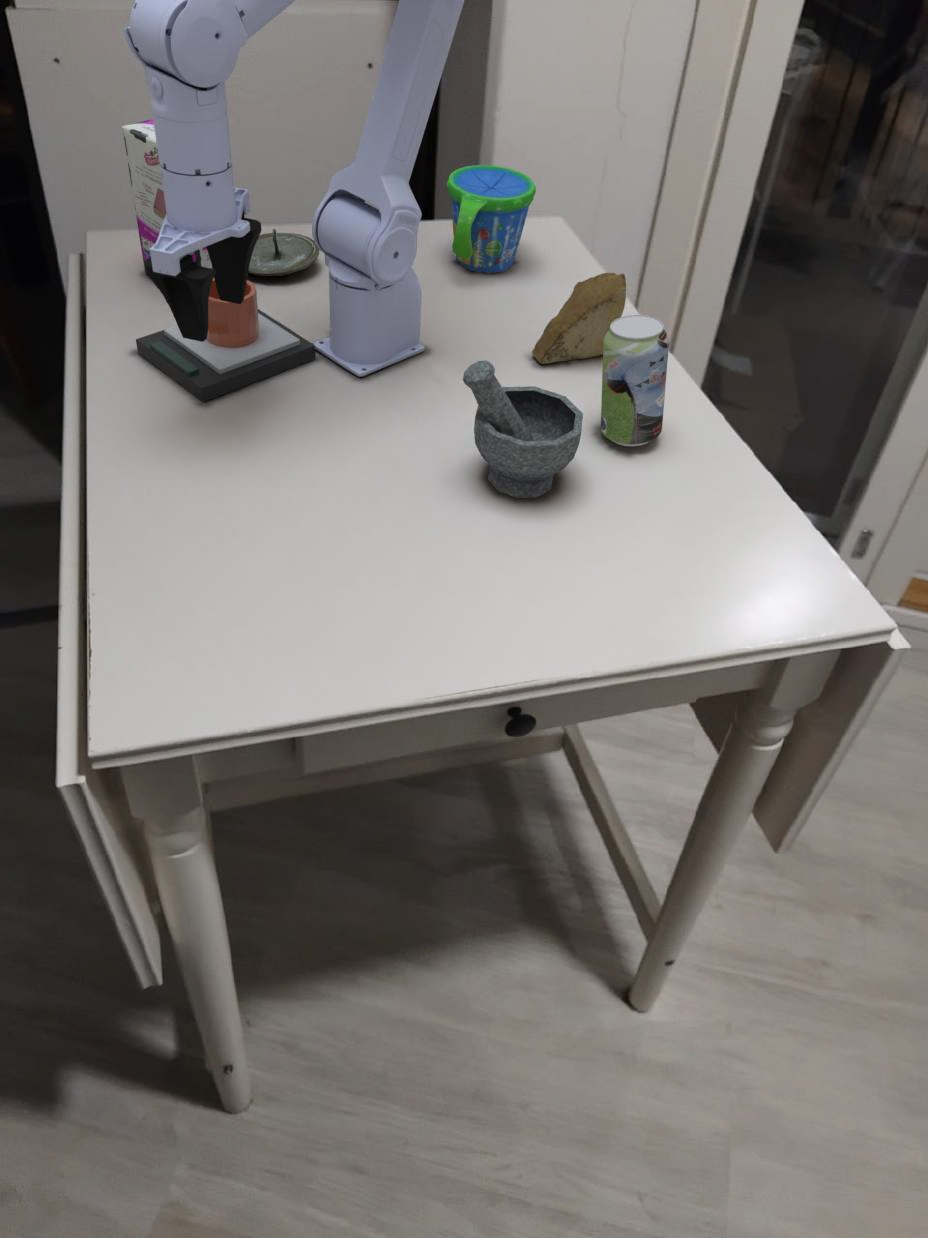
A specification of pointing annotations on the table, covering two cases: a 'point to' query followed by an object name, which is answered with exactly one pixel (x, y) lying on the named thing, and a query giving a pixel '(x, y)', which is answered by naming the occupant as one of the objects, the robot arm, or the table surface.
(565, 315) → the rock
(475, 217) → the snack cup
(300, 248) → the lid
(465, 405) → the table surface
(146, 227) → the candy bar box
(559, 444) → the mortar and pestle
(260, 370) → the scale
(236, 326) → the terracotta cup
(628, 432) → the beverage can
